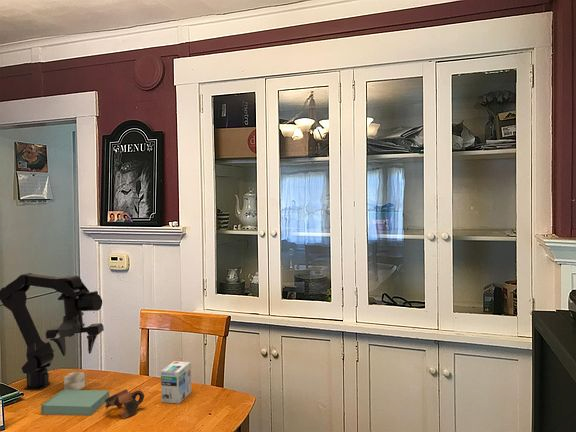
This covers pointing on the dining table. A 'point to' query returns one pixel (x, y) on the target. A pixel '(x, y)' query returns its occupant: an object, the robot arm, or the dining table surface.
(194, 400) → the dining table surface
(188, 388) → the light bulb box
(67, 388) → the wooden cube
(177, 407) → the dining table surface
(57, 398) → the green book
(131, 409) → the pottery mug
